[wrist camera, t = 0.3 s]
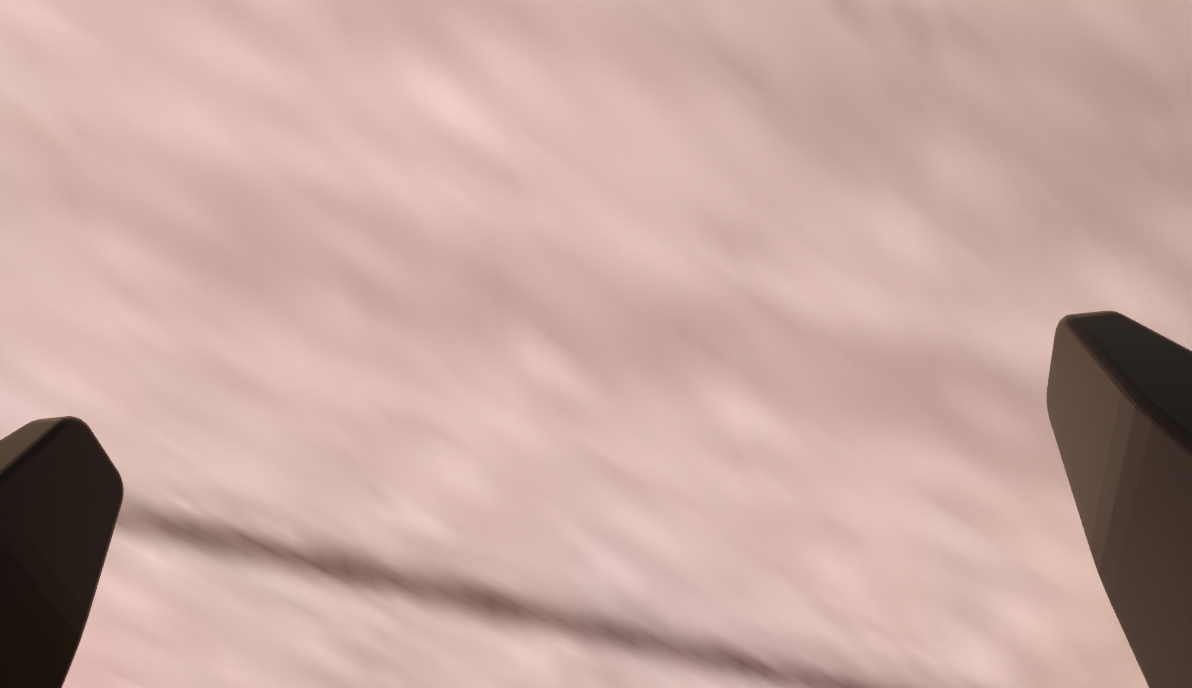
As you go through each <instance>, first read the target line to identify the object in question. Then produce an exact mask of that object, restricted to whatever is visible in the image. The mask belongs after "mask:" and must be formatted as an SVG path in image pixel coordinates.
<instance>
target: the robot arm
mask: <svg viewBox="0 0 1192 688" xmlns="http://www.w3.org/2000/svg"><path fill="white" fill-rule="evenodd" d="M1047 409H1048V414H1049V419H1050V422H1051V425H1052V429H1053V432H1054V435H1055V438H1056V441H1057V445H1058V448H1059V451H1060V454H1061V458H1062V461H1063V464H1064V467H1065V470H1066V474H1067V477H1068V480H1069V483H1070V486H1071V490H1072V493H1073V496H1074V499H1075V502H1076V506H1077V509H1078V512H1079V515H1080V519H1081V522H1082V525H1083V528H1084V531H1085V535H1086V538H1087V541H1088V544H1089V547H1090V550H1091V553H1092V556H1093V559H1094V562H1095V565H1096V568H1097V571H1098V574H1099V576H1100V579H1101V581H1102V584H1103V586H1104V588H1105V591H1106V593H1107V595H1108V598H1109V600H1110V602H1111V605H1112V607H1113V609H1114V611H1115V613H1116V616H1117V618H1118V620H1119V622H1120V624H1121V627H1122V629H1123V631H1124V633H1125V635H1126V638H1127V640H1128V642H1129V644H1130V646H1131V649H1132V651H1133V653H1134V655H1135V657H1136V660H1137V662H1138V664H1139V666H1140V668H1141V671H1142V673H1143V675H1144V677H1145V679H1146V682H1147V684H1148V686H1149V688H1192V351H1190V350H1189V349H1187V348H1185V347H1183V346H1181V345H1179V344H1177V343H1175V342H1174V341H1172V340H1170V339H1168V338H1166V337H1164V336H1162V335H1160V334H1158V333H1157V332H1155V331H1153V330H1151V329H1149V328H1147V327H1145V326H1143V325H1141V324H1140V323H1138V322H1136V321H1134V320H1132V319H1130V318H1128V317H1126V316H1124V315H1122V314H1120V313H1118V312H1115V311H1100V312H1090V313H1081V314H1071V315H1066V316H1065V317H1064V318H1062V319H1061V320H1060V321H1059V324H1058V326H1057V328H1056V332H1055V338H1054V345H1053V351H1052V358H1051V365H1050V372H1049V379H1048V386H1047ZM123 491H124V489H123V482H122V479H121V476H120V474H119V472H118V470H117V469H116V467H115V466H114V464H113V463H112V461H111V460H110V458H109V456H108V455H107V453H106V452H105V450H104V449H103V447H102V446H101V444H100V443H99V441H98V440H97V438H96V437H95V435H94V433H93V432H92V430H91V429H90V427H89V426H88V425H87V424H86V423H85V422H84V421H82V420H81V419H79V418H76V417H72V416H66V417H56V418H46V419H39V420H35V421H32V422H30V423H28V424H26V425H25V426H23V427H21V428H20V429H18V430H16V431H15V432H13V433H12V434H10V435H8V436H7V437H5V438H3V439H2V440H0V688H62V686H63V683H64V681H65V679H66V676H67V674H68V671H69V669H70V666H71V664H72V661H73V659H74V656H75V653H76V651H77V648H78V646H79V643H80V640H81V637H82V634H83V631H84V628H85V625H86V622H87V619H88V616H89V613H90V609H91V606H92V602H93V599H94V596H95V592H96V589H97V585H98V582H99V579H100V575H101V572H102V569H103V565H104V562H105V558H106V555H107V552H108V548H109V545H110V542H111V538H112V535H113V531H114V528H115V525H116V521H117V518H118V514H119V511H120V508H121V504H122V500H123Z"/></svg>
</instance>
